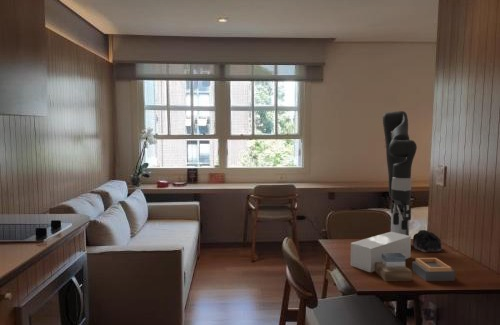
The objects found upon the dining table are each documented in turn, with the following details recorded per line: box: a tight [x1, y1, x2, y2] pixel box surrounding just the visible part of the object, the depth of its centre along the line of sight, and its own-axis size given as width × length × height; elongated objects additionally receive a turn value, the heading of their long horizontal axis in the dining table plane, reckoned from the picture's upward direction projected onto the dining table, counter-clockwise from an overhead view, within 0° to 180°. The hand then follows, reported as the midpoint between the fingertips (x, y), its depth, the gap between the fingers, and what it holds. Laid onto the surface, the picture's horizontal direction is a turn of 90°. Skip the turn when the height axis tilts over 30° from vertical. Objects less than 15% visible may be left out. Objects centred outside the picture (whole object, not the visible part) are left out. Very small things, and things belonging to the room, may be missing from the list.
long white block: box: [350, 231, 412, 273], centre depth 175 cm, size 32×11×11 cm, turn 127°
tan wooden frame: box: [411, 257, 456, 282], centre depth 157 cm, size 12×12×6 cm
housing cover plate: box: [382, 253, 406, 263], centre depth 156 cm, size 5×8×2 cm, turn 92°
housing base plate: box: [382, 259, 406, 269], centre depth 157 cm, size 5×8×3 cm, turn 92°
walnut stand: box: [374, 262, 413, 282], centre depth 157 cm, size 11×11×4 cm
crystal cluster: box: [412, 229, 442, 253], centre depth 193 cm, size 14×14×10 cm
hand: (399, 227), depth 155 cm, fingers open, 8 cm apart
